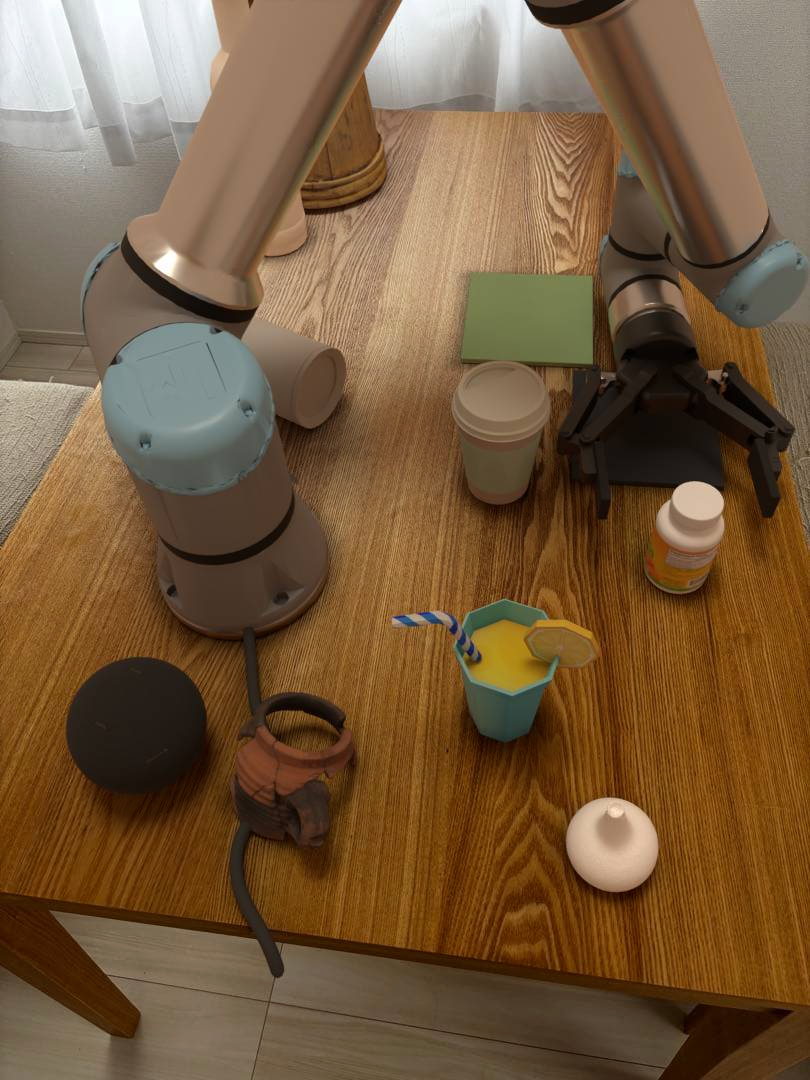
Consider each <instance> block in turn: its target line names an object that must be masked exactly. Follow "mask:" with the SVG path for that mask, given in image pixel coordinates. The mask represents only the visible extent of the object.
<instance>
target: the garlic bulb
mask: <svg viewBox="0 0 810 1080" xmlns="http://www.w3.org/2000/svg"><path fill="white" fill-rule="evenodd" d="M565 836H566V838H565V846H566V852H567V856H568V859H569V861H570V863H571V865H572V867H573V869H574V871H576V873H577V874H578V875H579V876H580V878H582V879H583V880H584V881H585V882H587V883H588V884H589V885H591V886H593V887H595V888H596V889H598V890H602V891H606V892H610V893H621V892H627V891H631V890H632V889H636V888H637V887H639V886H640V885H641V884H643V883H644V882H645V881H646V880H647V879H649V877H650V875H652V873H653V871H654V869H655V867H656V865H657V860H658V857H659V839H658V833H657V830H656V829H655V826H654V824H653V822H652V821H651V819H650V817H649V816H648V815H647V814H646V813H645V812H644V810H642V809H641V808H640V807H638V805H635V804H634V803H632V802H630V801H628V800H625V799H623V798H618V797H601V798H597V799H594V800H591V801H589V802H587V803H585V804H584V805H583V806H582V807H580V808H579V809H578V810H577V811H576V813H574V815H573V817H572V818H571V820H570V822H569V824H568V827H567V831H566V835H565Z"/></svg>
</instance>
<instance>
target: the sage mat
mask: <svg viewBox="0 0 810 1080" xmlns="http://www.w3.org/2000/svg"><path fill="white" fill-rule="evenodd" d="M593 278H594V277H593V275H579V274H577V275H576V274H575V275H574V274H572V275H571V274H541V273H540V274H538V273H509V272H505V273H504V272H475V271H474V272H471V273H470V281H469V289H468V296H467V297H468V298H467V305H466V313H465V320H464V329H463V336H462V345H461V352H460V363H461V364H483V363H486V362H490V361H501V360H502V361H512V362H517V363H520V364H523V365H525V366H535V367H554V368H555V367H557V368H582V369H585V368H586V369H588V367H589V366H590V365H592V364H594V324H593V323H594V308H593V307H594V305H593V303H594V299H593V298H594V297H593V296H594V294H593V293H594V292H593V290H594V289H593V285H594V284H593Z"/></svg>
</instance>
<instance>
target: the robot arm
mask: <svg viewBox="0 0 810 1080" xmlns="http://www.w3.org/2000/svg"><path fill="white" fill-rule="evenodd" d="M523 1H524V2H525V4H526V6H527V9H528V10H529V12H530V13H531V15H532V17H533V18H534V19H535V20H536V21H537V22H538V23H540V24H541V25H543V26H544V27H546V28H550V29H554V30H560V31H561V33H562V35H563V36H564V39H565V41H566V42H567V44H568V46H569V48H570V50H571V52H572V54H573V56H574V57H575V59H576V61H577V63H578V65H579V67H580V69H581V70H582V72H583V74H584V77H585V78H586V80H587V82H588V84H589V85H590V87H591V89H592V91H593V93H594V95H595V97H596V100H598V102H599V105H600V107H601V109H602V111H603V112H604V114H605V116H606V117H607V120H608V121H609V123H610V125H611V128H612V130H613V131H614V133H615V135H616V137H617V139H618V140H619V142H620V144H621V146H622V150H621V156H620V160H619V165H618V166H617V167H616V180H615V188H614V194H613V195H614V197H613V205H612V211H611V221H610V227H609V230H608V231H607V232H606V233H605V235H604V236H603V237H602V239H601V241H600V244H599V247H598V266H597V268H598V276H599V278H600V283H601V284H602V290H603V294H604V302H605V307H606V312H607V317H608V323H609V330H610V337H611V343H612V347H613V356H614V362H615V369H616V371H615V372H616V373H613V372H614V371H611V372H601V371H602V367H601V366H600V365H598V364H595V363H593V364H592V365H590V366H589V367H588V368H587V378H586V384H585V386H584V388H583V389H582V391H581V393H580V394H579V396H578V398H577V400H576V401H575V403H574V405H573V404H572V407H571V408H570V410H569V411H568V413H567V415H566V417H565V419H564V420H563V422H562V424H561V425H560V427H559V429H558V432H557V439H556V446H555V447H556V449H555V451H556V453H557V454H558V455H560V456H566V455H568V454H571V455H572V454H574V455H576V456H577V457H576V463H577V464H578V465H579V469H580V478H581V481H582V482H581V483H582V484H583V485H592V486H593V493H594V501H595V508H596V515H597V520H598V521H605V520H608V517H609V512H610V506H611V502H612V496H611V489H610V484H609V481H608V474H607V467H606V460H605V453H604V446H603V444H604V443H605V442H606V441H607V440H608V439H609V438H610V437H611V436H613V435H614V434H615V433H616V432H617V431H618V430H619V429H620V428H621V427H622V426H623V425H624V424H625V423H626V422H627V421H631V420H632V419H633V418H634V417H635V416H636V415H637V414H638V413H639V412H640V411H644V412H647V415H649V414H660V413H669V414H681V413H682V411H684V412H685V413H686V414H688V415H689V416H691V417H692V418H694V419H695V420H700V419H702V420H704V421H705V422H707V423H708V424H709V425H711V426H712V427H714V428H715V429H717V430H718V432H719V433H721V434H723V435H724V436H726V437H727V438H728V439H730V440H731V441H733V442H734V443H736V444H737V445H739V446H740V447H742V448H743V449H745V450H747V451H748V452H749V453H748V455H747V459H746V463H747V466H748V470H749V474H750V477H751V481H752V484H753V488H754V492H755V495H756V499H757V502H758V506H759V511H760V514H761V517H762V519H772V518H773V516H774V514H775V512H776V510H777V508H778V507H779V506H778V505H779V504H780V502H781V499H782V496H781V495H782V494H781V492H780V488H779V485H778V481H779V478H780V476H781V473H782V470H783V464H782V460H781V458H780V453H784V452H786V451H787V450H788V447H789V445H790V443H791V441H792V438H793V436H794V434H795V431H796V427H795V426H794V425H793V424H792V423H791V422H790V421H789V420H788V419H787V418H786V417H785V416H784V415H783V414H782V413H781V412H780V411H779V410H777V409H776V408H775V407H774V406H773V405H772V404H771V403H770V402H769V401H768V400H767V399H766V398H765V397H764V396H763V395H762V394H761V393H760V392H759V391H758V390H757V389H755V387H754V386H753V385H751V384H750V383H749V382H748V381H747V380H746V379H745V378H744V377H743V375H742V372H741V370H740V368H739V366H738V364H737V363H735V362H734V361H726V362H725V363H724V364H723V367H722V369H712V370H707V368H705V366H703V365H702V364H701V362H700V357H699V356H700V355H699V351H698V347H697V343H696V339H695V336H694V331H693V328H692V323H691V319H690V316H689V311H688V307H687V304H686V300H685V296H684V292H683V289H682V284H681V279H680V273H681V274H682V275H683V276H684V277H685V278H686V279H687V280H688V281H689V282H690V284H692V286H694V288H695V289H697V290H698V291H699V293H701V294H702V296H704V298H706V300H707V301H709V303H710V304H711V305H713V307H714V310H715V312H717V313H721V314H722V315H723V316H725V317H726V319H728V320H729V321H730V322H732V323H733V324H734V325H736V326H737V327H738V328H743V329H749V330H750V329H751V330H752V329H758V328H762V327H764V326H767V325H769V324H771V323H773V322H774V321H776V320H778V319H779V318H780V317H781V316H782V315H783V314H785V313H786V312H787V311H788V310H790V309H791V308H792V307H793V306H794V305H795V304H796V303H797V301H798V300H799V299H800V297H801V296H802V294H803V293H804V291H805V289H806V287H807V285H808V283H809V280H810V262H809V259H808V257H807V256H806V254H804V253H803V252H802V251H801V250H800V249H799V248H798V246H796V242H795V241H793V240H792V239H791V238H787V237H786V236H784V235H783V234H782V232H780V231H779V229H778V227H777V226H776V223H775V221H774V219H773V216H772V212H771V210H770V207H769V205H768V203H767V201H766V198H765V195H764V192H763V189H762V186H761V184H760V181H759V178H758V175H757V173H756V170H755V167H754V164H753V161H752V158H751V155H750V153H749V150H748V147H747V144H746V142H745V139H744V136H743V133H742V130H741V127H740V124H739V122H738V119H737V116H736V113H735V110H734V108H733V105H732V101H731V99H730V97H729V94H728V91H727V88H726V85H725V82H724V79H723V78H722V73H721V71H720V69H719V65H718V63H717V59H716V57H715V54H714V51H713V49H712V46H711V43H710V40H709V38H708V35H707V31H706V29H705V26H704V24H703V20H702V17H701V15H700V11H699V9H698V7H697V4H696V1H695V0H523ZM402 2H403V0H254V1H253V4H252V6H251V8H250V10H249V12H248V15H247V17H246V19H245V21H244V24H243V26H242V28H241V30H240V32H239V35H238V37H237V39H236V41H235V43H234V46H233V48H232V50H231V52H230V54H229V57H228V59H227V61H226V63H225V65H224V68H223V70H222V72H221V74H220V76H219V79H218V81H217V83H216V85H215V88H214V90H213V92H212V93H211V94H210V97H209V99H208V100H207V103H206V105H205V107H204V109H203V112H202V114H201V116H200V119H199V120H198V123H197V125H196V127H195V130H194V132H193V133H192V136H191V138H190V141H189V142H188V145H187V146H186V147H187V148H186V149H185V151H184V153H183V156H182V158H181V161H180V163H179V165H178V167H177V169H176V172H175V174H174V176H173V178H172V180H171V182H170V185H169V187H168V189H167V192H166V194H165V196H164V198H163V199H162V202H161V204H160V206H159V209H158V211H156V212H153V213H149V214H144V215H140V216H137V217H135V218H133V219H132V220H131V221H130V223H129V224H128V226H127V228H126V231H125V232H124V235H123V237H122V239H121V240H119V241H118V242H115V243H114V242H110V243H109V244H107V245H106V246H105V247H104V248H102V249H101V250H100V251H99V253H97V255H96V256H94V259H92V261H91V262H90V264H89V266H88V267H87V270H86V271H85V274H84V275H83V280H82V283H81V288H80V296H79V300H80V301H79V303H80V321H81V327H82V331H83V336H84V337H85V341H86V345H87V346H88V348H89V350H90V352H91V357H92V359H93V362H94V366H95V369H96V372H97V375H98V378H99V382H100V386H101V391H100V405H101V409H102V414H103V420H104V426H105V429H106V432H107V436H108V439H109V442H110V443H111V446H112V447H113V449H114V451H115V453H116V454H117V455H118V456H119V458H120V459H121V461H122V462H123V464H124V465H125V467H126V470H127V471H128V473H129V476H130V478H131V480H132V482H133V484H134V486H135V489H136V490H137V493H138V495H139V497H140V499H141V501H142V503H143V506H144V508H145V510H146V512H147V514H148V516H149V519H150V521H151V523H152V525H153V527H154V530H155V531H156V533H157V538H158V539H157V554H156V574H157V580H158V585H159V588H160V592H161V594H162V596H163V598H164V600H165V603H166V604H167V606H168V608H169V609H170V611H171V613H172V614H173V615H174V616H175V617H176V619H178V620H179V622H181V623H182V624H183V625H185V626H186V627H187V628H189V629H190V630H193V631H194V632H196V633H198V634H200V635H204V636H206V637H210V638H214V639H221V640H233V641H234V640H235V641H236V640H243V648H244V660H245V661H244V662H245V674H246V675H245V677H246V690H247V698H248V705H249V708H250V713H251V717H252V716H254V715H255V714H254V710H256V708H257V707H258V706H259V705H260V704H261V702H262V699H261V693H260V684H259V669H258V658H257V647H256V638H258V637H262V636H265V635H268V634H272V633H273V632H276V631H278V630H281V629H282V628H284V627H286V626H288V625H290V624H291V623H293V622H294V621H296V620H297V619H298V618H300V617H301V616H302V615H303V614H304V613H305V612H306V611H307V610H309V608H310V607H312V605H313V604H314V603H315V602H316V600H317V599H318V597H319V595H320V594H321V592H322V590H323V589H324V587H325V584H326V583H327V579H328V575H329V573H330V567H331V564H330V563H331V559H330V558H331V557H330V556H331V555H330V549H329V545H328V544H329V543H328V539H327V536H326V533H325V530H324V528H323V527H322V524H321V522H320V521H319V520H320V519H318V517H317V516H316V514H315V513H314V512H313V511H312V509H311V508H310V507H308V505H307V504H305V502H304V501H303V500H302V498H301V497H300V496H299V495H298V493H296V492H295V490H294V488H293V487H294V486H293V484H296V485H298V486H300V482H299V477H298V476H296V475H293V474H292V473H290V471H289V467H288V462H287V459H286V455H285V451H284V447H283V443H282V439H281V435H280V431H279V427H278V423H277V419H276V414H275V408H274V400H273V395H272V391H271V387H270V385H269V382H268V380H267V378H266V375H265V374H264V372H263V370H262V368H261V366H260V364H259V362H258V360H257V359H256V357H255V356H254V354H253V353H252V352H251V350H250V349H249V348H248V347H247V346H246V345H245V344H244V343H243V342H242V341H241V339H242V337H243V335H244V333H245V331H246V329H247V327H248V326H249V324H250V322H251V320H252V318H253V317H254V316H256V315H255V314H256V313H257V311H258V310H259V307H260V305H261V304H262V302H263V299H264V298H265V297H264V296H265V290H264V286H263V284H262V280H261V277H260V275H259V272H258V269H259V267H260V265H261V264H262V261H263V260H264V257H265V256H266V255H265V254H266V252H267V250H268V248H269V247H270V245H271V243H272V241H273V239H274V237H275V235H276V234H277V232H278V230H279V228H280V226H281V224H282V222H283V221H284V219H285V217H286V215H287V213H288V211H289V210H290V208H291V206H292V204H293V202H294V200H295V198H296V197H297V195H298V193H299V191H300V189H301V187H302V185H303V184H304V182H305V180H306V178H307V176H308V174H309V173H310V171H311V169H312V167H313V165H314V163H315V161H316V160H317V158H318V156H319V154H320V152H321V150H322V148H323V147H324V145H325V143H326V141H327V139H328V137H329V136H330V134H331V132H332V130H333V128H334V126H335V124H336V123H337V121H338V119H339V117H340V115H341V113H342V111H343V110H344V108H345V106H346V104H347V102H348V100H349V99H350V97H351V95H352V93H353V91H354V89H355V87H356V86H357V84H358V82H359V80H360V78H361V76H362V74H363V73H364V72H365V70H366V69H367V67H368V65H369V63H370V61H371V60H372V58H373V56H374V54H375V52H376V50H377V49H378V47H379V45H380V43H381V41H382V40H383V38H384V36H385V34H386V32H387V30H388V29H389V26H390V24H391V22H392V21H393V19H394V17H395V15H396V13H397V12H398V10H399V8H400V6H401V4H402ZM610 387H614V388H615V390H616V391H617V392H618V393H619V394H621V395H620V396H619V397H618V398H617V399H616V400H615V401H614V402H613V403H612V404H611V405H610V406H609V407H608V408H607V409H606V410H605V411H604V412H603V413H602V414H601V415H600V416H599V417H598V418H597V419H596V420H595V421H594V422H593V423H592V424H591V425H589V426H588V427H587V428H586V429H585V430H584V431H583V432H582V433H581V434H580V432H581V431H582V429H583V427H584V425H585V423H586V422H587V420H588V418H589V416H590V415H591V413H592V411H593V409H594V407H595V405H596V403H597V399H598V397H603V394H605V393H606V392H607V390H608V389H609V388H610ZM698 396H699V398H698V401H697V404H696V403H695V402H694V401H695V400H696V399H697V397H698ZM265 726H266V727H267V729H268V730H269V732H270V733H271V734H272V732H271V728H270V727H269V724H268V721H267V718H266V717H265ZM251 832H252V830H251V827H250V825H249V824H248V823H247V822H246V821H245V820H242V821H241V822H240V824H239V825H238V827H237V830H236V832H235V834H234V836H233V840H232V843H231V846H230V847H231V848H230V852H229V877H230V885H231V889H232V892H233V895H234V898H235V901H236V903H237V905H238V907H239V910H240V911H241V914H242V915H243V917H244V919H245V921H246V922H247V924H248V926H249V928H250V929H251V931H252V933H253V935H254V936H255V939H256V940H257V942H258V944H259V946H260V948H261V950H262V953H263V955H264V958H265V961H266V964H267V966H268V968H269V971H270V974H271V976H272V977H273V978H275V979H281V978H282V977H283V976H284V973H285V964H284V962H283V961H284V960H283V958H282V955H281V952H280V950H279V947H278V946H277V943H276V941H275V939H274V937H273V934H272V933H271V931H270V929H269V927H268V924H267V923H266V922H265V920H264V918H263V916H262V915H261V914H260V911H259V910H258V908H257V906H256V905H255V902H254V901H253V899H252V897H251V895H250V893H249V890H248V887H247V883H246V880H245V874H244V864H243V862H244V861H243V860H244V852H245V847H246V844H247V841H248V839H249V837H250V834H251Z"/></svg>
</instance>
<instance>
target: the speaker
mask: <svg viewBox="0 0 810 1080" xmlns="http://www.w3.org/2000/svg"><path fill="white" fill-rule="evenodd" d="M207 716H208V715H207V709H206V704H205V700H204V698H203V695H202V693H201V691H200V689H199V687H198V686H197V685H196V683H195V682H194V681H193V679H192V678H191V677H190V676H189V675H188V674H187V673H186V672H185V671H183V670H182V669H181V668H179V667H178V666H176V665H175V664H173V663H170V662H168V661H166V660H163V659H159V658H155V657H151V656H150V657H149V656H132V657H126V658H121V659H118V660H114V661H112V662H110V663H108V664H106V665H104V666H102V667H101V668H99V669H98V670H96V671H95V672H94V673H93V674H91V675H90V676H89V677H87V678H86V680H85V681H84V682H83V683H82V684H81V686H80V687H79V688H78V690H77V691H76V693H75V695H74V696H73V699H72V700H71V703H70V706H69V708H68V711H67V715H66V721H65V737H66V738H65V739H66V743H67V748H68V751H69V754H70V756H71V758H72V761H73V762H74V763H75V765H76V767H77V769H79V771H80V773H82V774H83V775H84V777H86V778H87V779H88V780H90V781H91V782H92V783H93V784H95V785H97V786H98V787H100V788H101V789H104V790H107V791H109V792H112V793H116V794H121V795H143V794H148V793H152V792H156V791H159V790H161V789H164V788H165V787H168V786H169V785H171V784H172V783H174V782H175V781H177V780H178V779H180V778H181V777H182V776H183V775H184V774H185V773H186V772H187V771H188V770H189V769H190V768H191V767H192V765H193V764H194V763H195V761H196V759H197V758H198V756H199V754H200V753H201V750H202V748H203V745H204V743H205V739H206V735H207V725H208V717H207Z"/></svg>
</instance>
